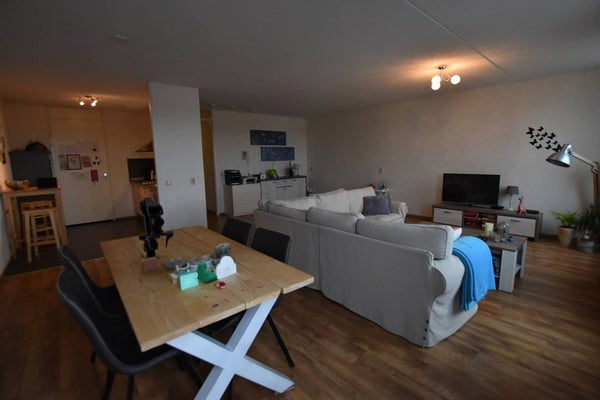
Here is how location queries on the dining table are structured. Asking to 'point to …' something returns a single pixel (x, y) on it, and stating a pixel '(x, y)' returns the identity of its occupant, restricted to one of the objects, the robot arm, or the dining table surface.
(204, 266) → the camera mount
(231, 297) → the dining table surface
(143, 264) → the housing
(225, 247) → the light bulb box
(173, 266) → the base plate
